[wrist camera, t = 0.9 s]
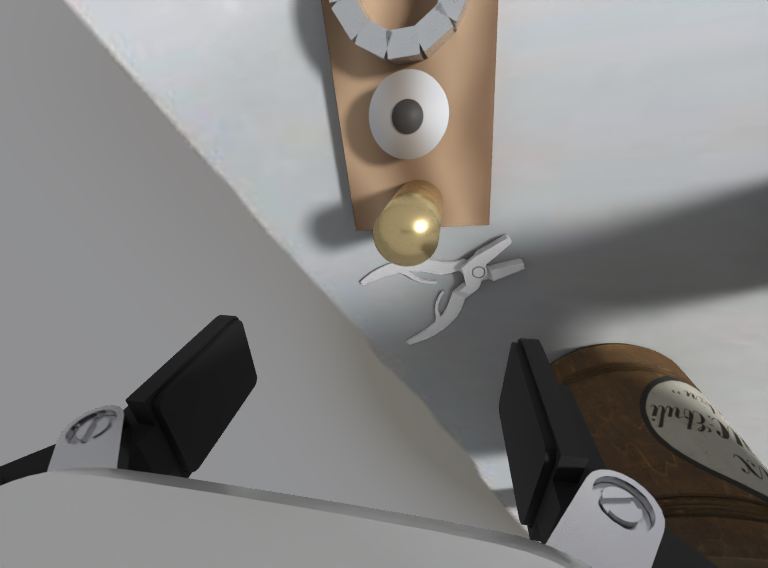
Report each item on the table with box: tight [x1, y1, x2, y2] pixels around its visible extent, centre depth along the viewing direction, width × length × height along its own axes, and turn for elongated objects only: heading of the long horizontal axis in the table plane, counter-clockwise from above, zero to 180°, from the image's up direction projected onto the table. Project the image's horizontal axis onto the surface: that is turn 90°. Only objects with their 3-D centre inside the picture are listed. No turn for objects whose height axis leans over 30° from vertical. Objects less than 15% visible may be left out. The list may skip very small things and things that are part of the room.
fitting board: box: [321, 0, 498, 230], centre depth 24 cm, size 12×22×5 cm, turn 6°
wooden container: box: [550, 344, 768, 568], centre depth 26 cm, size 15×15×22 cm
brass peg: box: [373, 180, 444, 267], centre depth 25 cm, size 4×4×8 cm
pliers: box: [361, 234, 525, 345], centre depth 33 cm, size 10×2×15 cm
